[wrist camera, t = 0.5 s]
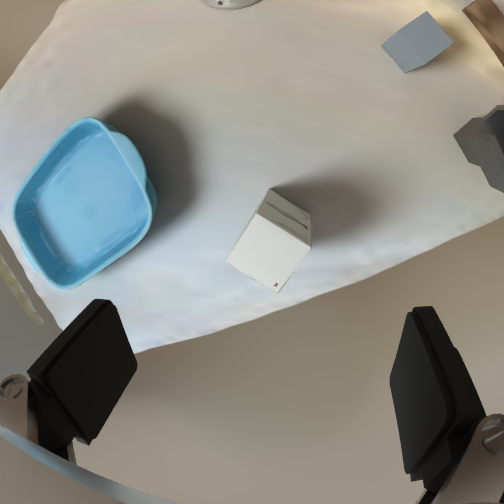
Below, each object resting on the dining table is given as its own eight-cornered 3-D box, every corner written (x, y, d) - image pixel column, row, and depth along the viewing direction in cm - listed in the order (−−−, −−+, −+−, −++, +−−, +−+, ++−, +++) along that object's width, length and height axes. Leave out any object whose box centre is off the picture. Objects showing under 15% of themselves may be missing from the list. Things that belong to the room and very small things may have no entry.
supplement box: (312, 213, 43) (314, 248, 32) (284, 252, 47) (277, 296, 35) (269, 186, 43) (256, 211, 31) (243, 226, 46) (222, 263, 35)
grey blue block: (380, 46, 31) (396, 31, 24) (407, 26, 29) (426, 10, 22) (404, 73, 32) (425, 64, 25) (430, 53, 30) (453, 42, 23)
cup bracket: (441, 132, 35) (487, 140, 23) (473, 105, 32) (523, 106, 20) (467, 175, 36) (514, 198, 25) (497, 147, 33) (547, 162, 22)
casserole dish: (73, 287, 58) (54, 304, 52) (22, 205, 52) (0, 216, 46) (197, 205, 46) (179, 219, 40) (126, 90, 40) (100, 88, 33)
